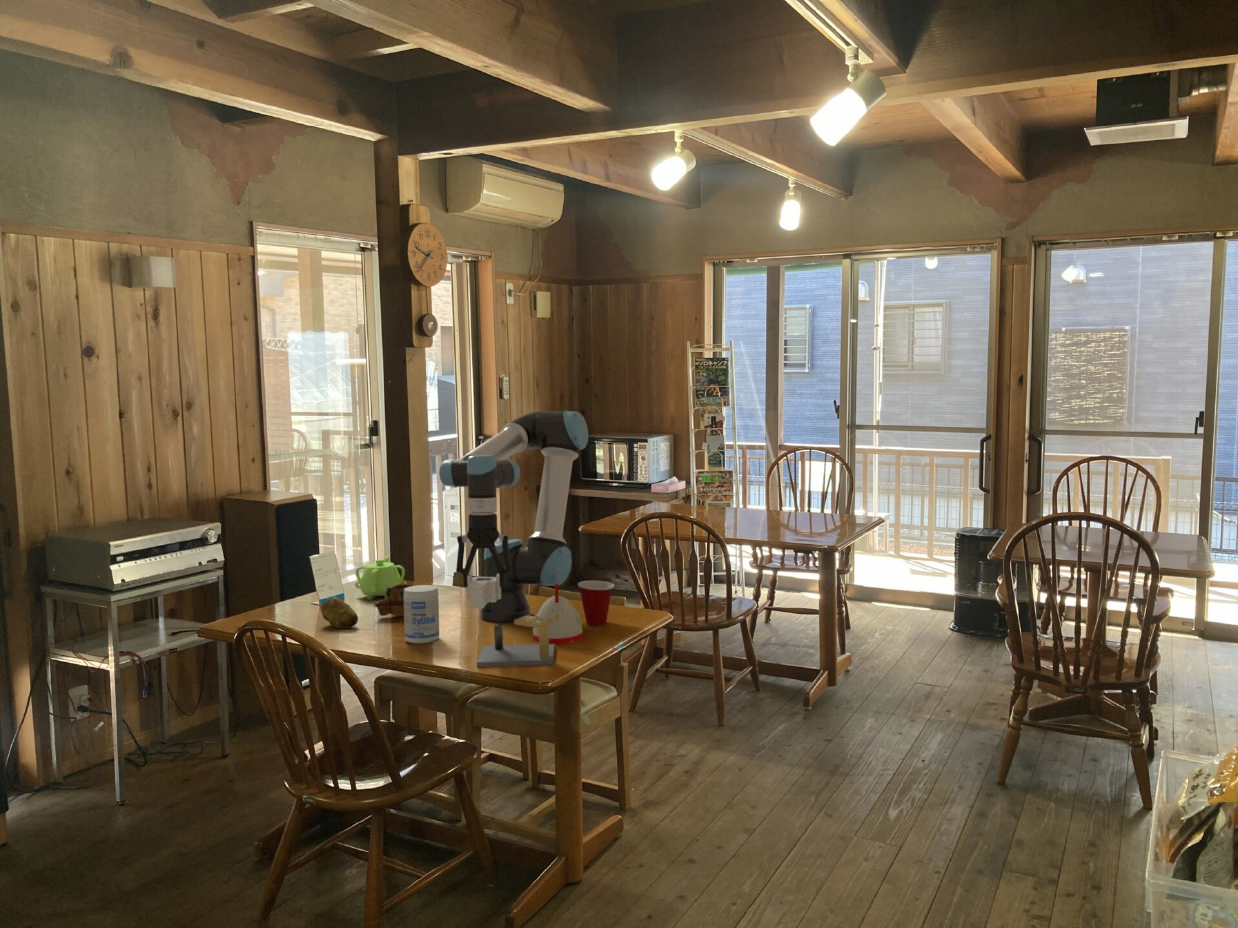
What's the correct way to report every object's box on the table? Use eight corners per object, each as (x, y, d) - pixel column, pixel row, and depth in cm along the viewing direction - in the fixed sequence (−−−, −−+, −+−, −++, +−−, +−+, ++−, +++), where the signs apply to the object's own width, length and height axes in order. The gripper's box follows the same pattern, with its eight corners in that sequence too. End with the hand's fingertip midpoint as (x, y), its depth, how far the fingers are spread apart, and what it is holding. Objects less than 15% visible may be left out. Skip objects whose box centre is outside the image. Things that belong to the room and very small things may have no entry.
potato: (333, 633, 278) (331, 605, 277) (318, 624, 289) (317, 598, 288) (360, 628, 283) (359, 601, 282) (345, 619, 293) (344, 594, 293)
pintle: (495, 647, 254) (494, 624, 253) (503, 647, 254) (502, 623, 253) (494, 650, 252) (493, 626, 251) (502, 649, 252) (501, 625, 251)
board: (483, 650, 256) (483, 646, 256) (554, 648, 256) (554, 643, 256) (476, 666, 241) (476, 662, 241) (552, 664, 242) (552, 659, 242)
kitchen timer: (532, 645, 260) (530, 591, 259) (533, 632, 274) (531, 580, 272) (583, 643, 261) (582, 589, 260) (582, 630, 275) (580, 578, 273)
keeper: (528, 650, 251) (527, 615, 250) (555, 655, 246) (554, 619, 245) (515, 655, 246) (514, 619, 246) (543, 660, 241) (542, 623, 241)
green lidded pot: (350, 595, 327) (348, 559, 326) (389, 589, 336) (387, 553, 335) (370, 603, 314) (368, 565, 313) (410, 596, 323) (408, 559, 322)
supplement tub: (413, 646, 262) (411, 593, 260) (399, 639, 269) (396, 587, 268) (446, 639, 268) (443, 588, 266) (430, 633, 275) (428, 582, 274)
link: (473, 597, 259) (473, 576, 259) (499, 596, 259) (499, 576, 259) (463, 608, 244) (463, 587, 244) (490, 608, 244) (490, 587, 244)
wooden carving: (377, 621, 290) (376, 588, 290) (374, 618, 295) (373, 586, 294) (431, 614, 298) (429, 582, 297) (427, 611, 302) (426, 580, 301)
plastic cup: (616, 627, 276) (615, 586, 275) (579, 628, 276) (577, 587, 275) (614, 618, 287) (613, 578, 286) (578, 619, 287) (577, 579, 286)
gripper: (442, 515, 251) (444, 601, 252) (518, 514, 250) (520, 601, 252) (448, 512, 258) (450, 596, 260) (521, 511, 258) (523, 595, 259)
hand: (484, 598), depth 256 cm, fingers closed on link, 7 cm apart
